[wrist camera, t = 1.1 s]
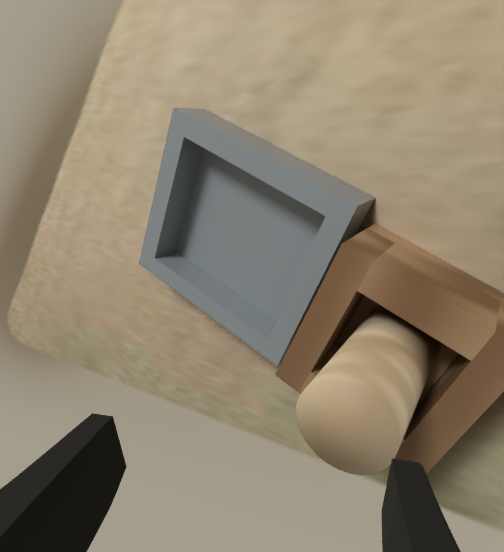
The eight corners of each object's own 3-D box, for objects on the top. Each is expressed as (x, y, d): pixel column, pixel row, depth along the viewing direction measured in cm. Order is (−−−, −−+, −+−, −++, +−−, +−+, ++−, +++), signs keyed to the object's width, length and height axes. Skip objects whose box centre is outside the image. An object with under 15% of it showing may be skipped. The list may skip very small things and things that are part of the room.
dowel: (456, 329, 17) (420, 429, 11) (415, 382, 18) (365, 494, 13) (386, 287, 18) (320, 359, 12) (353, 341, 19) (281, 426, 14)
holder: (535, 310, 16) (536, 356, 13) (436, 424, 19) (418, 482, 16) (374, 223, 18) (342, 243, 15) (312, 338, 22) (275, 374, 19)
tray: (375, 198, 18) (357, 205, 16) (297, 346, 22) (277, 366, 21) (204, 109, 21) (173, 107, 20) (166, 254, 26) (138, 263, 24)
